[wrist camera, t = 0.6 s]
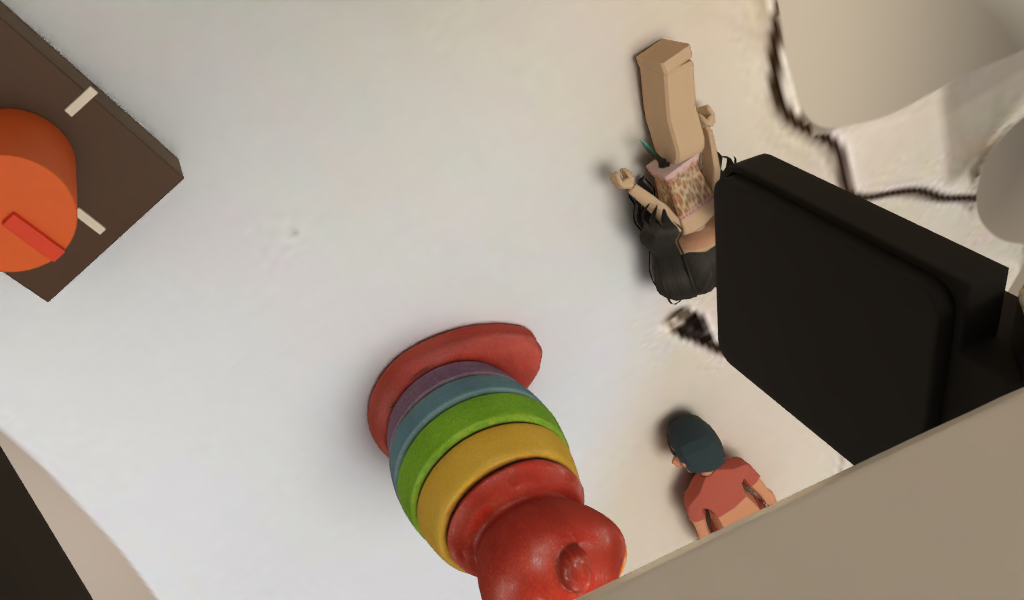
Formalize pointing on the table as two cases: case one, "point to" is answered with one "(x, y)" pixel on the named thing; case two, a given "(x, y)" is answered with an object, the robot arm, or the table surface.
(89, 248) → the brown dial base
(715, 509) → the character figure
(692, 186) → the toy figure
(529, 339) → the stacking bear
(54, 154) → the knob
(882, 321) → the robot arm
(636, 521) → the table surface
